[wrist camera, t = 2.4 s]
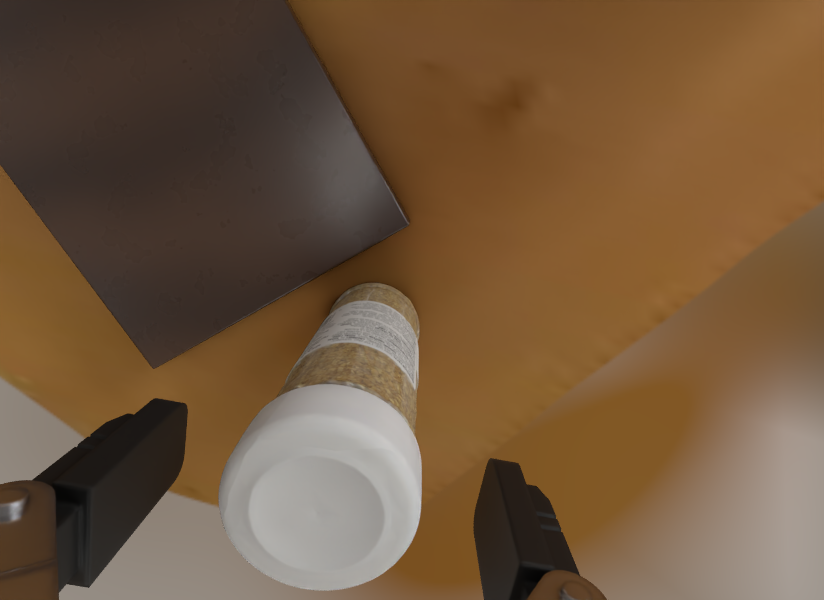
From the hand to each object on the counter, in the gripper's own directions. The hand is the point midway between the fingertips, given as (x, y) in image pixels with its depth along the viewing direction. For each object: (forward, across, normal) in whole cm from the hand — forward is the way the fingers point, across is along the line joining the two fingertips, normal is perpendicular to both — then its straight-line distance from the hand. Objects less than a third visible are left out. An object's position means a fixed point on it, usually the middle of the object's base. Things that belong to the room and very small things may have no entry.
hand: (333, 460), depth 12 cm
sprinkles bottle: (+11, 0, 0) cm, 11 cm away
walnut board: (+11, +10, -8) cm, 17 cm away
